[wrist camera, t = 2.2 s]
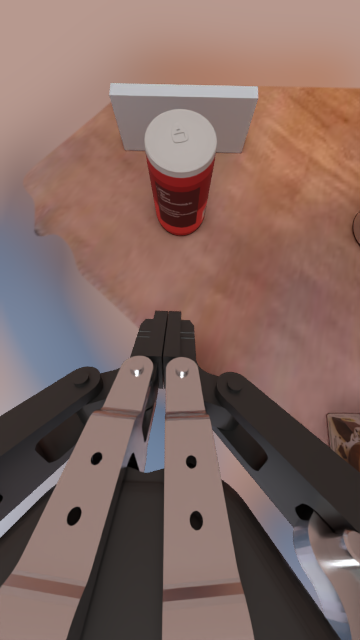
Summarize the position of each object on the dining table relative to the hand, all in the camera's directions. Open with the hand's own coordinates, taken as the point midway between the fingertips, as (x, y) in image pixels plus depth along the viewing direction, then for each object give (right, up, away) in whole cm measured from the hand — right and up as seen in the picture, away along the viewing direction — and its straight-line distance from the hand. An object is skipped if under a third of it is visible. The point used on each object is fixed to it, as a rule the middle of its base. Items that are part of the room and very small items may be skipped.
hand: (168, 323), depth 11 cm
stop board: (+1, +33, +21) cm, 39 cm away
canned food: (+1, +17, +19) cm, 26 cm away
